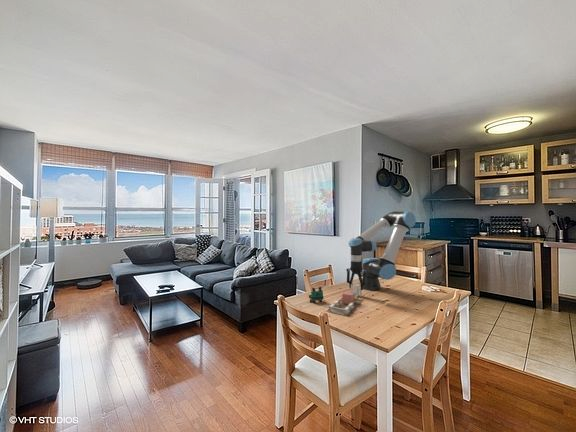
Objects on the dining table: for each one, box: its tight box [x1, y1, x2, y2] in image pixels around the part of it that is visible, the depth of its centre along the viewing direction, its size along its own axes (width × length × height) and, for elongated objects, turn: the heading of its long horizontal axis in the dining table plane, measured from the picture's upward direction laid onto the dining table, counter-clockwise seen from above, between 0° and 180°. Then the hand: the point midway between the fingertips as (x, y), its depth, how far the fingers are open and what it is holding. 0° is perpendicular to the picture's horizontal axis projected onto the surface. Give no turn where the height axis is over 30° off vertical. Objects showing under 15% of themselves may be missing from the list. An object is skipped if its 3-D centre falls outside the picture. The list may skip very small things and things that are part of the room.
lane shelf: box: [326, 297, 364, 317], centre depth 162 cm, size 30×14×4 cm, turn 148°
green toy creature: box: [308, 286, 324, 304], centre depth 170 cm, size 9×11×10 cm
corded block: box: [341, 284, 360, 304], centre depth 172 cm, size 22×6×8 cm, turn 148°
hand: (356, 293), depth 180 cm, fingers open, 5 cm apart
